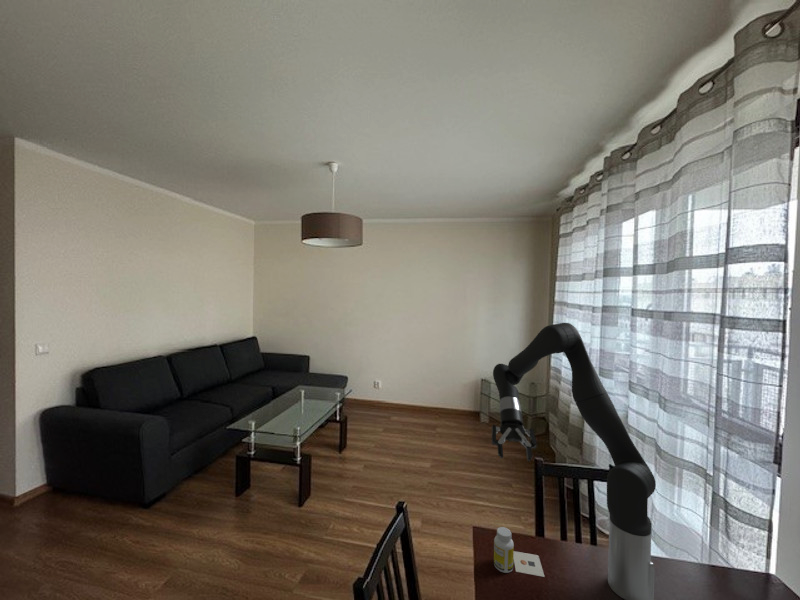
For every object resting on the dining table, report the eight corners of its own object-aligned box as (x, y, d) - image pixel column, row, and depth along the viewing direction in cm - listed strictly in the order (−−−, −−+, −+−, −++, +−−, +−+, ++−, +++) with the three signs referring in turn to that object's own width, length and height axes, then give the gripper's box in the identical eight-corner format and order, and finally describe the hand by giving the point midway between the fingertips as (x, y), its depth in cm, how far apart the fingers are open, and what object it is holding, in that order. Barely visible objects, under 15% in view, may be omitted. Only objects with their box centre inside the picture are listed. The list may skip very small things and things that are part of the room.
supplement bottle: (510, 559, 97) (511, 526, 97) (515, 574, 91) (516, 539, 91) (491, 557, 97) (493, 524, 97) (495, 572, 92) (496, 537, 92)
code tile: (538, 556, 99) (538, 555, 99) (544, 577, 91) (544, 576, 91) (511, 551, 100) (511, 550, 100) (516, 572, 92) (516, 571, 92)
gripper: (491, 405, 117) (493, 451, 106) (533, 409, 115) (540, 456, 103) (489, 416, 122) (491, 461, 111) (529, 419, 120) (536, 465, 108)
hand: (515, 458), depth 107 cm, fingers open, 8 cm apart
